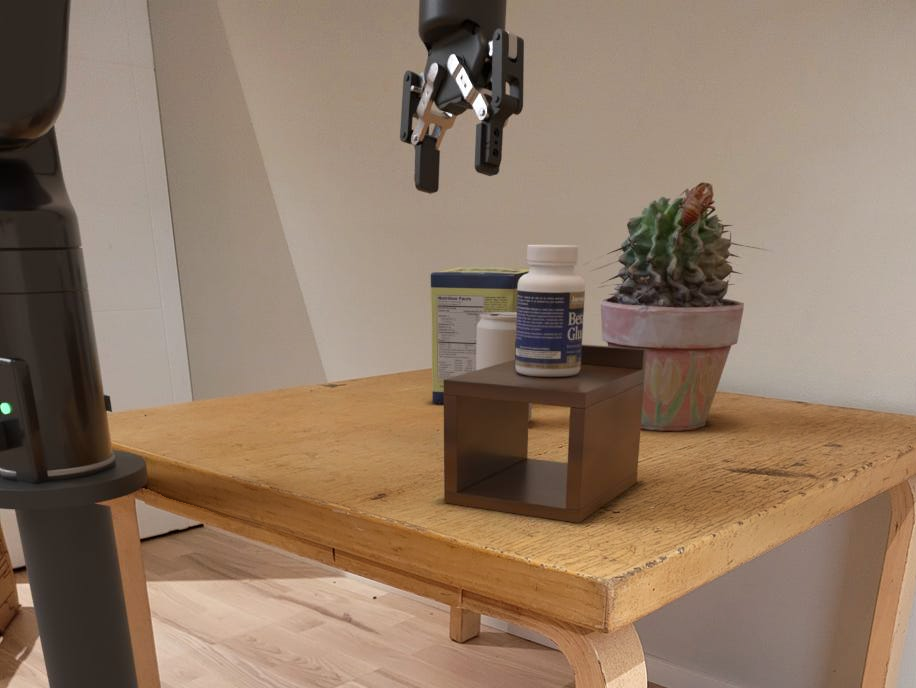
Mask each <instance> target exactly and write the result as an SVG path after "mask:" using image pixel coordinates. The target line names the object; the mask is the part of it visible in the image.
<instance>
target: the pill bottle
mask: <svg viewBox="0 0 916 688" xmlns="http://www.w3.org/2000/svg"><path fill="white" fill-rule="evenodd" d="M526 247H527V249H526V261H527V262H526V264H527V265H528V266H529V269H530V270H529V272H528V273H527V274H525V275H523V276H522V277H521V278H520V279H519V281H518V288H517V322H516V357H515V368H516V371H517V372H518V373H520V374H523V375H527V376H536V377H566V376H573V375H576V374H578V373H579V371H580V366H581V352H582V344H583V333H584V331H583V330H584V312H585V298H586V297H585V295H586V294H585V291H586V286H585V284H586V283H585V281H584V279H583V277H581V276H580V275H578V274H576V273H575V272H576V271H575V266H578V261H579V246H578V245H569V244H527V245H526Z"/></svg>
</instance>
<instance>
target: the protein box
mask: <svg viewBox="0 0 916 688" xmlns="http://www.w3.org/2000/svg"><path fill="white" fill-rule="evenodd" d="M529 270H530V268H522V267H521V268H517V267H489V266H488V267H487V266H486V267H485V266H459V267H456V268H451V269H445V270H440V271H435V272H431V273H430V312H431V314H430V315H431V316H430V318H431V319H430V321H431V386H432V387H431V388H432V390H431V393H432V396H431V398H432V404H439V405H444V380H445V379H448V378H452V377H455V376H459V375H462V374H466V373H469V372H473V371H476V338H477V324H478V323H479V321H480V320H481V317H480V314H481V313H488V312H517V288H518V281H519V279H520V278H521V277H522V276H523V275H525V274H527V273H528V272H529Z"/></svg>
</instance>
